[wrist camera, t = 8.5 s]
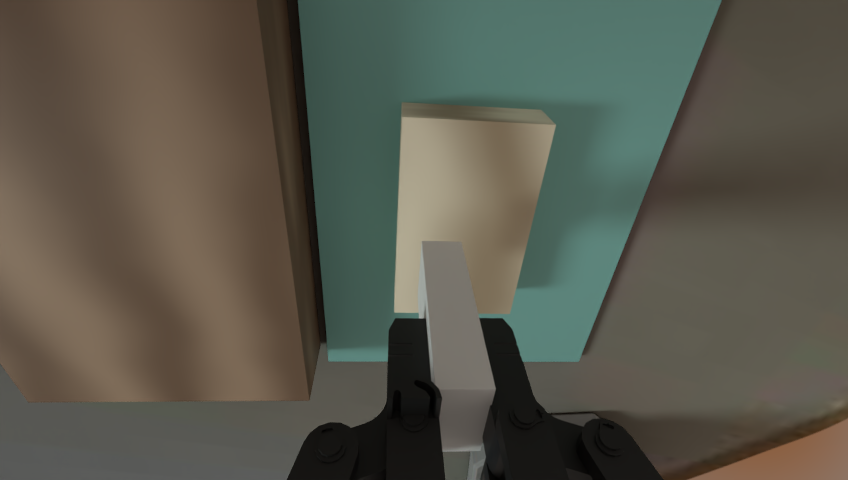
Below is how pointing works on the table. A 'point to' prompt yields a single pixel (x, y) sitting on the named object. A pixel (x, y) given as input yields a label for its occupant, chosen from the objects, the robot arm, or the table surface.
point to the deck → (153, 203)
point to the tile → (469, 194)
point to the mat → (505, 88)
